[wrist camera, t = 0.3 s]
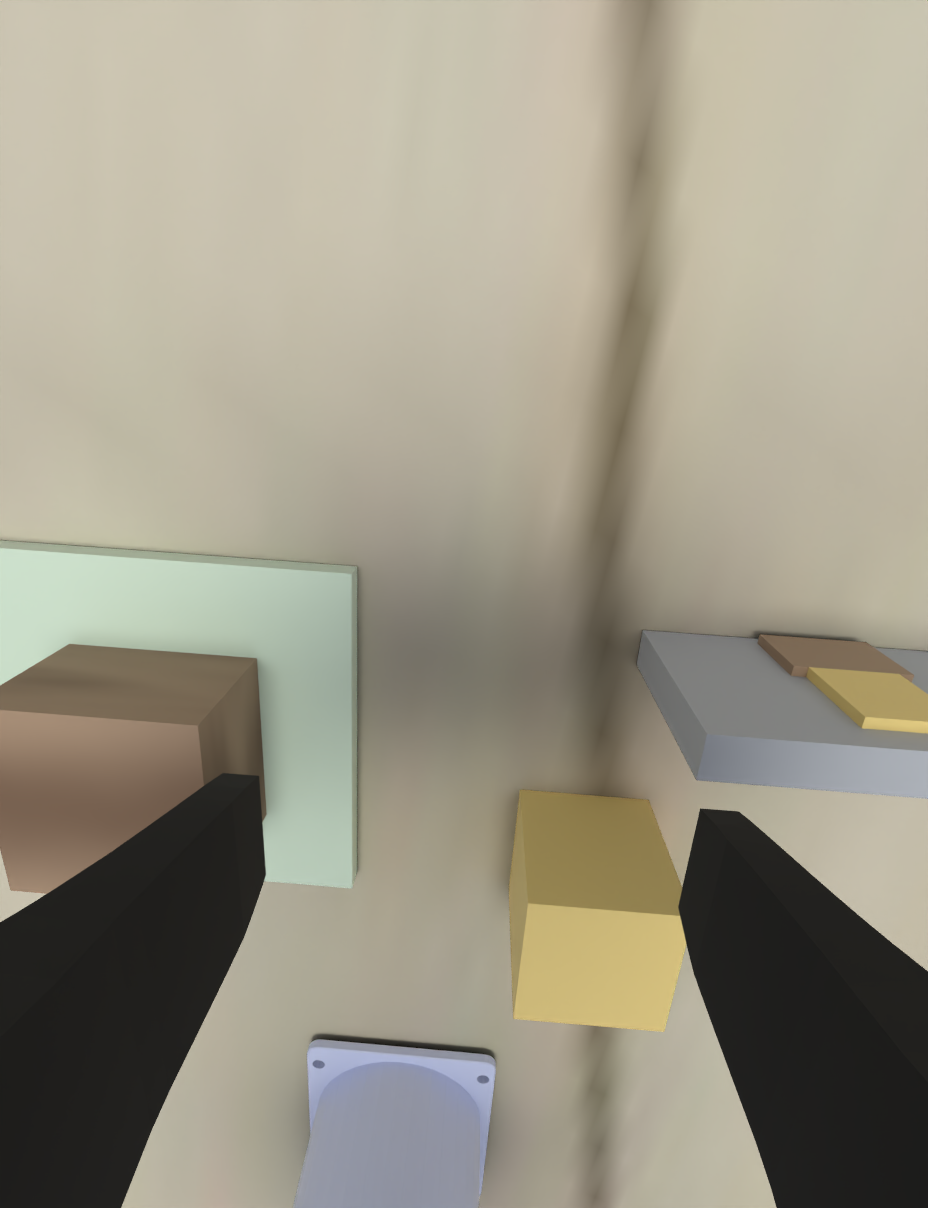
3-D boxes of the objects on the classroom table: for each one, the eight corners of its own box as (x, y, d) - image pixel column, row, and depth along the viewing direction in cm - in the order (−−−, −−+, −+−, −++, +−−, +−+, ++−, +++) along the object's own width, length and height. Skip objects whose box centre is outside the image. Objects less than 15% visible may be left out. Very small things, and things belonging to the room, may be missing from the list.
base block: (266, 814, 21) (216, 908, 17) (97, 800, 21) (10, 890, 17) (257, 658, 19) (197, 725, 15) (69, 643, 19) (-36, 706, 15)
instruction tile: (953, 688, 19) (1149, 816, 13) (636, 664, 19) (696, 779, 14) (970, 645, 18) (1181, 759, 13) (644, 621, 19) (709, 721, 13)
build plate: (357, 871, 23) (352, 888, 22) (44, 845, 23) (29, 861, 22) (357, 566, 18) (351, 573, 18) (-24, 538, 19) (-45, 544, 18)
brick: (628, 897, 23) (664, 1031, 18) (508, 887, 23) (513, 1019, 18) (648, 798, 21) (693, 917, 16) (519, 788, 21) (528, 903, 16)
